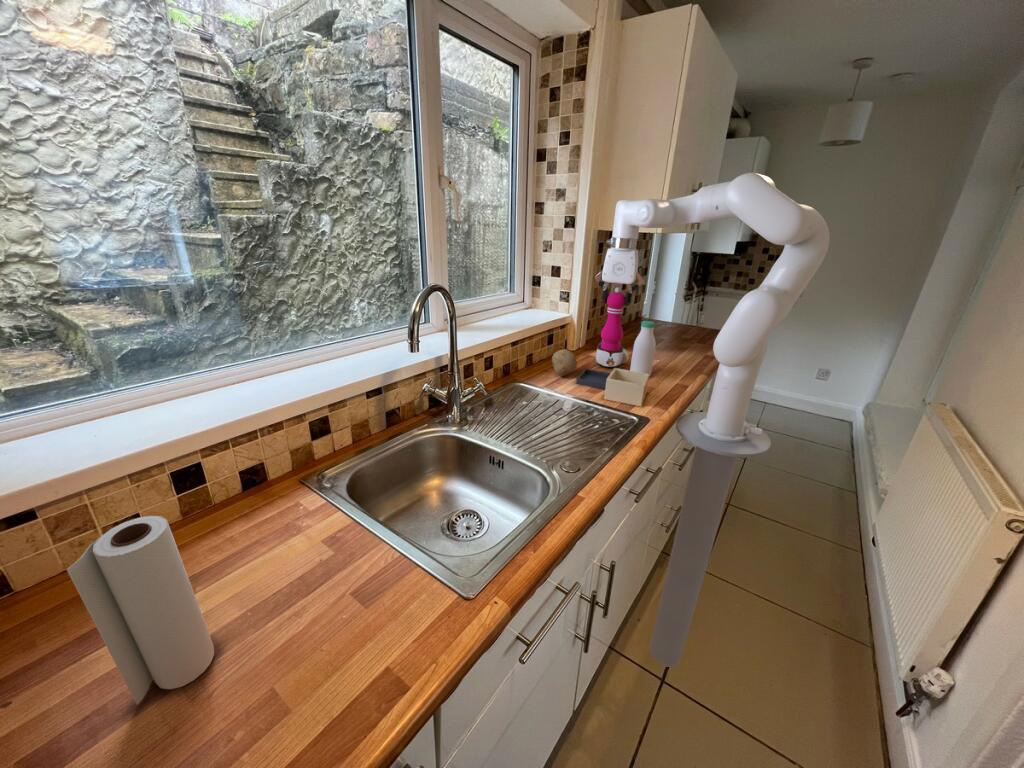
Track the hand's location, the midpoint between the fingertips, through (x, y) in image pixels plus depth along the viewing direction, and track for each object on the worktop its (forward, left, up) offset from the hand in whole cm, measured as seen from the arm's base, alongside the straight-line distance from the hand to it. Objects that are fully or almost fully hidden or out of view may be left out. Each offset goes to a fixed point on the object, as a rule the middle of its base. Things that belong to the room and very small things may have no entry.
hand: (616, 303), depth 130 cm
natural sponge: (+16, -2, -29) cm, 33 cm away
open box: (-8, +5, -29) cm, 30 cm away
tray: (+4, -3, -29) cm, 29 cm away
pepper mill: (0, 0, -15) cm, 15 cm away
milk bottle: (-9, -18, -29) cm, 35 cm away
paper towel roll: (+26, +119, -29) cm, 125 cm away
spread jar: (+3, -23, -29) cm, 37 cm away
